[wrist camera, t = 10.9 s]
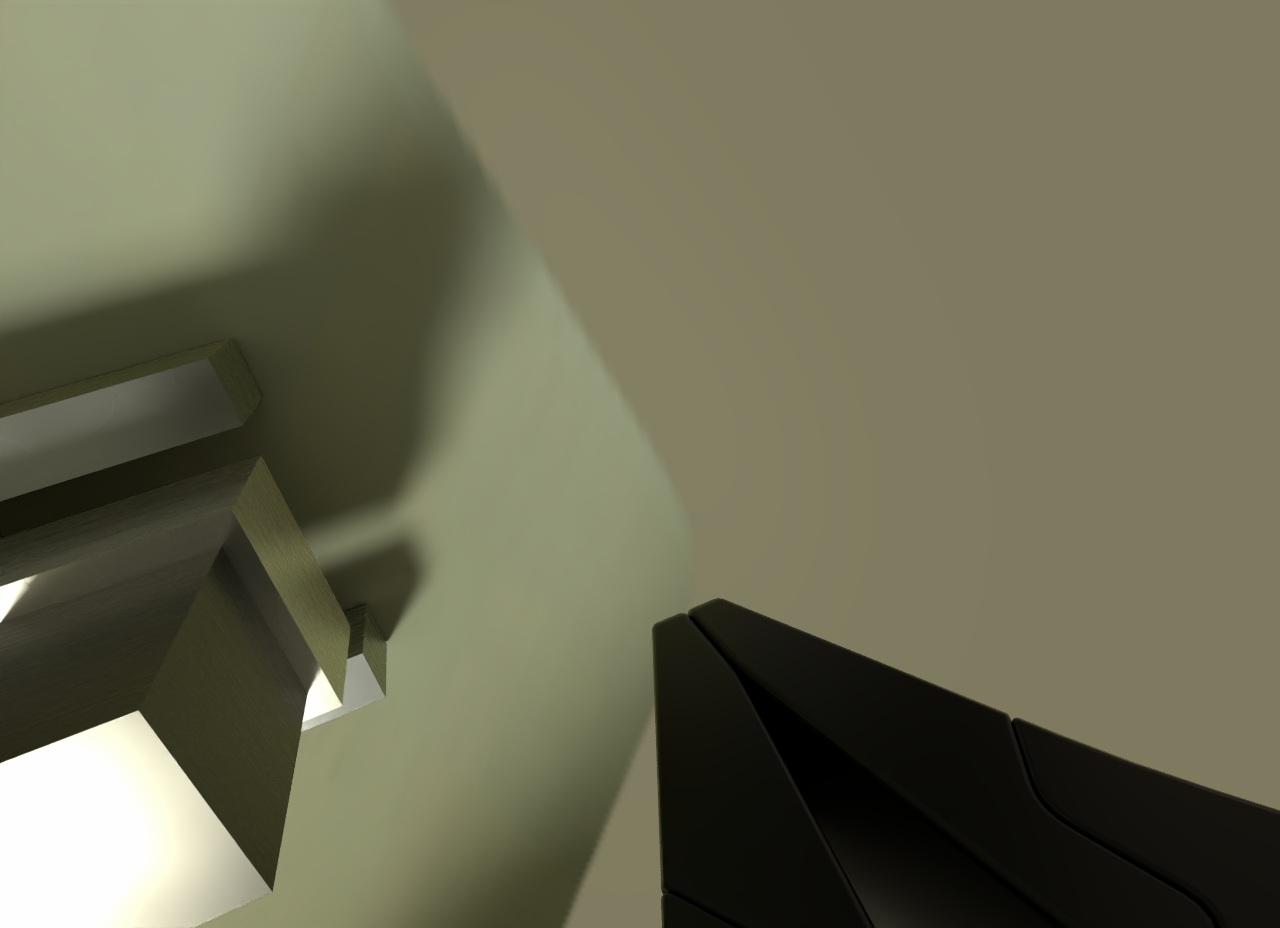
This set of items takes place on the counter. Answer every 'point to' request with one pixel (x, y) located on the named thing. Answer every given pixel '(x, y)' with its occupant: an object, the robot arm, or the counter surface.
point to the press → (148, 423)
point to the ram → (157, 702)
